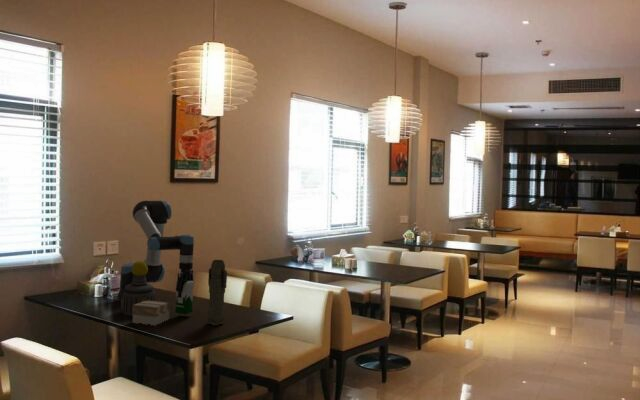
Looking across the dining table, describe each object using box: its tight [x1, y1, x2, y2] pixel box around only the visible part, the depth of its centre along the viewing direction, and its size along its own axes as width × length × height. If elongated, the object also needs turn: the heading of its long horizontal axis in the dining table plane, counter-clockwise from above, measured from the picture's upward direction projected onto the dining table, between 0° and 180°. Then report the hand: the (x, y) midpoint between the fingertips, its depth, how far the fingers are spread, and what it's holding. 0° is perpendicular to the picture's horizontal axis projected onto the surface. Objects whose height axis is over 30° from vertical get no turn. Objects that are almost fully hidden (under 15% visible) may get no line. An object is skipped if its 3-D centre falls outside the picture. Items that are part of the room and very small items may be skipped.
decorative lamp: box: [120, 260, 157, 317], centre depth 336 cm, size 19×19×30 cm
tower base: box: [132, 311, 170, 326], centre depth 319 cm, size 14×14×5 cm
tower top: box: [132, 300, 170, 317], centre depth 318 cm, size 14×14×5 cm
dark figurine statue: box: [207, 259, 228, 324], centre depth 319 cm, size 9×12×35 cm
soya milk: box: [174, 278, 195, 315], centre depth 332 cm, size 9×9×20 cm
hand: (184, 301), depth 332 cm, fingers closed on soya milk, 9 cm apart
